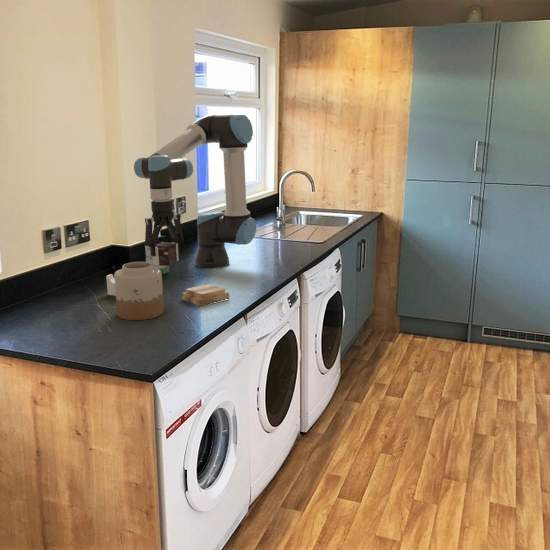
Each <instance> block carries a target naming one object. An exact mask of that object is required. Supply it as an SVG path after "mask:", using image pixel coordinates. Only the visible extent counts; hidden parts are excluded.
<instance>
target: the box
mask: <svg viewBox="0 0 550 550" xmlns="http://www.w3.org/2000/svg"><path fill="white" fill-rule="evenodd" d="M156 247H158V255H159V265H163V266H169V267H170V266H172V265H174V264H177V262H178V261H177V253H176V243H173V242H169V241H160V242H159V243H158V242H157V244H156Z"/></svg>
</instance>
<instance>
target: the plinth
mask: <svg viewBox="0 0 550 550" xmlns="http://www.w3.org/2000/svg"><path fill="white" fill-rule="evenodd" d="M225 299H229V300H230V292H227V291H226V288H223V287H221V286H217V285H213V284H212V283H211V284H210V283H204V284H199V285H197V286H192V287H187V288H185V291H184V292H181V300H182V301H185V302H188V303H190V304H194V305H196V304H197V306H199V305H200V306H199V307H202V306H203V307H205V306H204V305H207V306H209V305H208V304H211V303H214V302H218V301H221V300H225ZM218 303H219V302H218ZM214 304H215V303H214ZM211 305H212V304H211Z"/></svg>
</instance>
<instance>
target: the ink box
mask: <svg viewBox="0 0 550 550" xmlns="http://www.w3.org/2000/svg"><path fill="white" fill-rule="evenodd" d="M144 248H145V262H149V263H152V265H153V267H156V268H159V269H160V270H161V273H162V275H166V274H168V273H170V266H163V265H158V266H157V265H154V264H153V256H151V251H150V247H148V246H145V245H144Z"/></svg>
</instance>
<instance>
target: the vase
mask: <svg viewBox="0 0 550 550" xmlns="http://www.w3.org/2000/svg"><path fill="white" fill-rule="evenodd" d="M113 277H114V280H115V292H116V296H115V302H116V303H115V304H116V313H117V315H116V316H117V317H118V318H120V319H122V320H127V321H146V320H150V319H155V318H158V317H160V316H162V315H163V313H164V307H165V306H164V293H163V292H164V291H163V290H164V289H163V274H162V273H161V270H160V269H159V268H156V267H153V265H152V263H149V262H146V261H132V262H128V263H124V264H123V265H122V267H121V269H117V270H116V271H115V272H114V274H113Z"/></svg>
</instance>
